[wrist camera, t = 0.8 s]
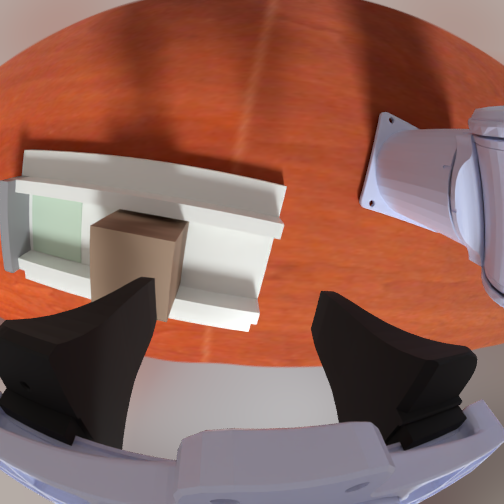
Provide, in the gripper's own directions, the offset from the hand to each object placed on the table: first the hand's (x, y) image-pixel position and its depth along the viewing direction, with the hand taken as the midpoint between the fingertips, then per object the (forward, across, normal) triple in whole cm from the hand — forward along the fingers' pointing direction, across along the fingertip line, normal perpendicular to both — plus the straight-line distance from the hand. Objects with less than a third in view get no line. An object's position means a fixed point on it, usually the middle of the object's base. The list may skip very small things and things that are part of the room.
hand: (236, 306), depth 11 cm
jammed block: (+8, +6, +1) cm, 10 cm away
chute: (+9, +8, 0) cm, 13 cm away
